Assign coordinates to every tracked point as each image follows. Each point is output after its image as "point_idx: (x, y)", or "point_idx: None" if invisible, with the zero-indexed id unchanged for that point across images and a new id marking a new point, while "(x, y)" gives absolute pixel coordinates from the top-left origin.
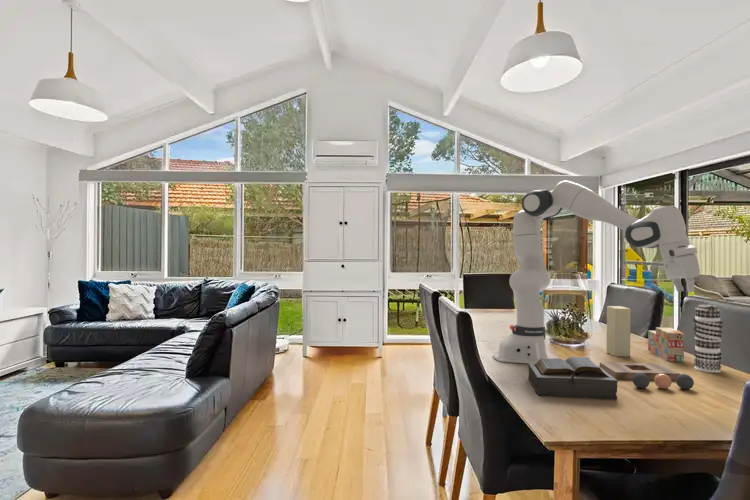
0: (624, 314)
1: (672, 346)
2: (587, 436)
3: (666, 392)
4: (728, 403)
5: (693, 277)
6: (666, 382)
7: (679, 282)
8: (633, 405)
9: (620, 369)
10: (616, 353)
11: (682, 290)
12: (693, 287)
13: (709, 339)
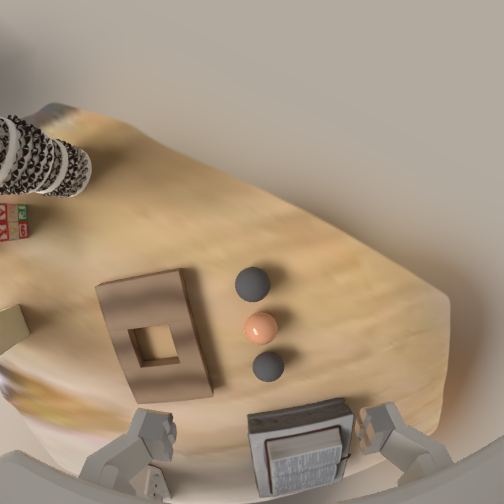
0: None
1: (7, 229)
2: (437, 409)
3: (284, 322)
4: (328, 232)
5: (452, 463)
6: (277, 326)
7: (119, 462)
8: (362, 379)
9: (185, 384)
10: (26, 334)
11: (170, 418)
12: (399, 420)
13: (48, 163)
